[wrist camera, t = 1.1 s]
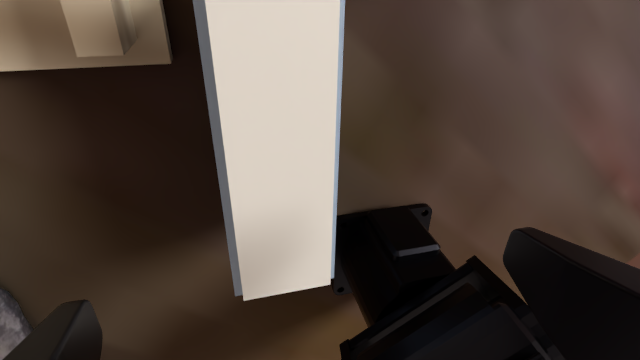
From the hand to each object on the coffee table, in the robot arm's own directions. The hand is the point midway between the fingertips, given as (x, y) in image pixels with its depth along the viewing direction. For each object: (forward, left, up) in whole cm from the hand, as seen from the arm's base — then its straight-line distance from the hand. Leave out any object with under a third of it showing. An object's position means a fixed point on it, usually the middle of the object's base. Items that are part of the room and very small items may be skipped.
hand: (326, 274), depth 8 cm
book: (0, 0, -13) cm, 13 cm away
